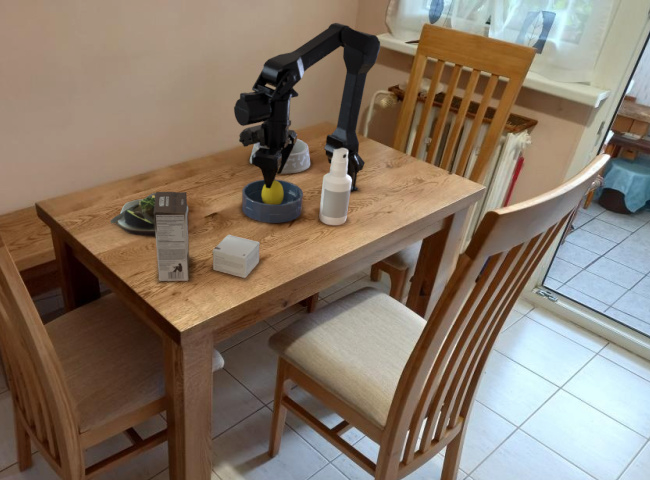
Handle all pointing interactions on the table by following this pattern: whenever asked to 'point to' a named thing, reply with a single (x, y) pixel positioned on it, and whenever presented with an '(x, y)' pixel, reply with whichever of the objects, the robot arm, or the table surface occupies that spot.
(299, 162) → the dog bowl
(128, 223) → the salad plate
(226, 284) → the table surface
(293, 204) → the bowl
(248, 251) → the small box
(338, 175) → the spray bottle
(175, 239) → the coffee box
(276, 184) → the lemon
